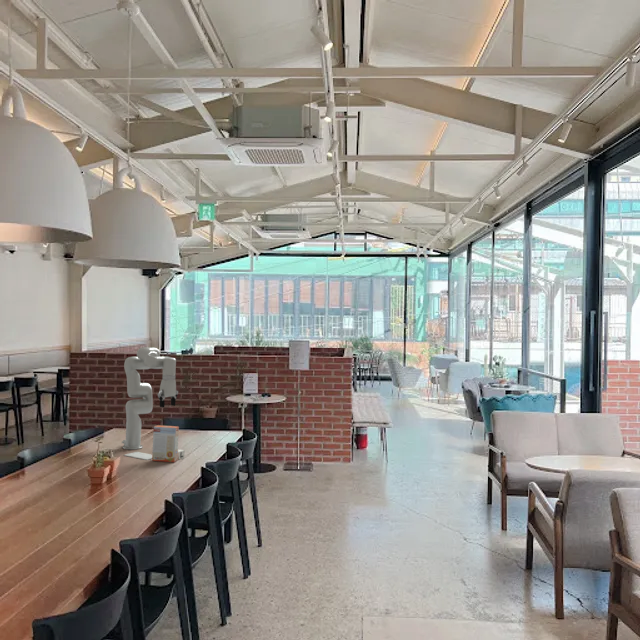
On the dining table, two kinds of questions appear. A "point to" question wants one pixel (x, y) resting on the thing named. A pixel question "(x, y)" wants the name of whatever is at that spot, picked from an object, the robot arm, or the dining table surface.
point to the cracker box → (165, 443)
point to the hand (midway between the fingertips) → (167, 406)
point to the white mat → (140, 455)
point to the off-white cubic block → (180, 454)
